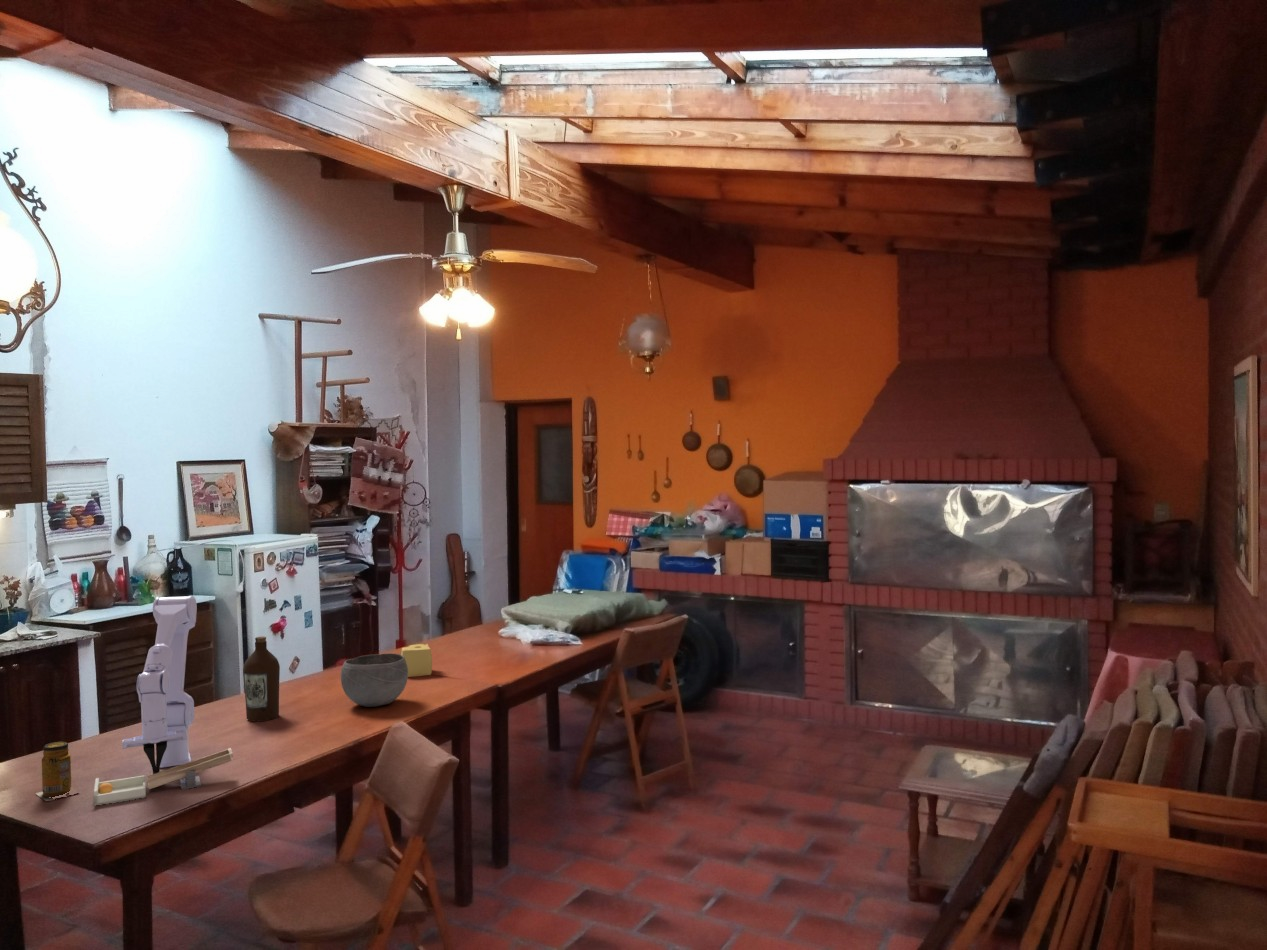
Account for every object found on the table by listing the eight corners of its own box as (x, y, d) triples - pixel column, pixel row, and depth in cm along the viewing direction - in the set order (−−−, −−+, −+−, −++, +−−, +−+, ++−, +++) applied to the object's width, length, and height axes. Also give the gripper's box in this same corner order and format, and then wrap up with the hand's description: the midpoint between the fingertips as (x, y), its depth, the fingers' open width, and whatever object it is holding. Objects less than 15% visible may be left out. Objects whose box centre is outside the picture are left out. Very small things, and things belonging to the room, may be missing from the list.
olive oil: (254, 712, 304) (252, 634, 304) (287, 712, 303) (284, 634, 303) (237, 722, 294) (235, 640, 293) (271, 722, 293) (268, 640, 292)
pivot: (180, 781, 241) (179, 764, 241) (199, 778, 243) (198, 761, 243) (181, 789, 235) (180, 773, 235) (201, 786, 237) (200, 769, 237)
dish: (96, 792, 234) (95, 778, 234) (145, 784, 239) (144, 770, 239) (94, 806, 225) (94, 791, 225) (145, 797, 230) (145, 783, 230)
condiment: (68, 786, 239) (66, 738, 239) (79, 794, 233) (78, 745, 233) (35, 794, 234) (33, 745, 234) (46, 802, 228) (44, 752, 228)
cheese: (400, 671, 357) (400, 645, 357) (430, 669, 361) (429, 643, 360) (402, 678, 347) (401, 650, 347) (432, 675, 351) (432, 648, 350)
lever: (148, 777, 242) (146, 769, 242) (230, 749, 251) (228, 741, 251) (149, 790, 233) (146, 782, 232) (234, 760, 241) (232, 753, 241)
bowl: (417, 696, 321) (416, 651, 320) (395, 713, 300) (394, 666, 299) (356, 695, 323) (355, 651, 323) (330, 713, 302) (329, 665, 302)
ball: (96, 790, 231) (103, 779, 232) (108, 795, 232) (115, 784, 233) (95, 794, 228) (103, 782, 229) (107, 799, 229) (115, 788, 230)
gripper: (121, 727, 234) (123, 782, 235) (186, 718, 241) (188, 771, 242) (121, 720, 241) (123, 773, 241) (185, 711, 247) (187, 763, 248)
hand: (156, 772), depth 242 cm, fingers closed
